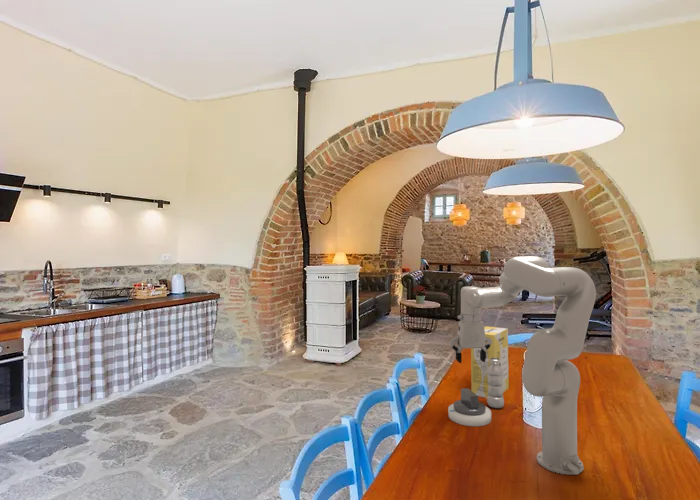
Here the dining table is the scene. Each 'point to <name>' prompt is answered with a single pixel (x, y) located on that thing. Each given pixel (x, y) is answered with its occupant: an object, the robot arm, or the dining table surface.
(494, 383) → the plastic bottle
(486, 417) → the dial housing
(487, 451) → the dining table surface
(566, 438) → the robot arm
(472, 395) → the dial knob
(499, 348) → the pasta box
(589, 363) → the dining table surface
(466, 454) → the dining table surface
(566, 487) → the dining table surface
